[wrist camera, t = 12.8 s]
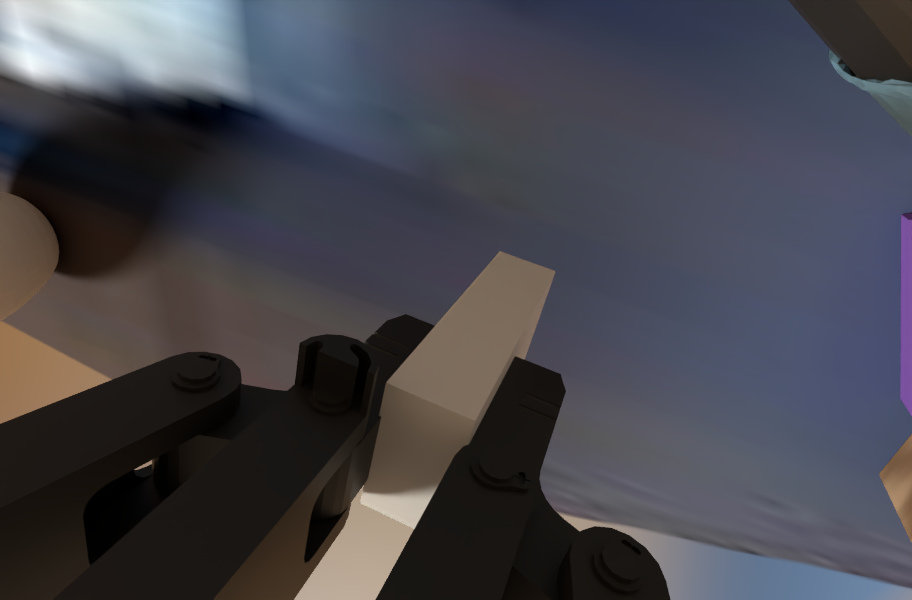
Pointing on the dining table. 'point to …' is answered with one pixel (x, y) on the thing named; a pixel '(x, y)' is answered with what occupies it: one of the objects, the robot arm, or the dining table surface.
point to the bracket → (906, 310)
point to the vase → (23, 252)
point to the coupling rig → (900, 483)
